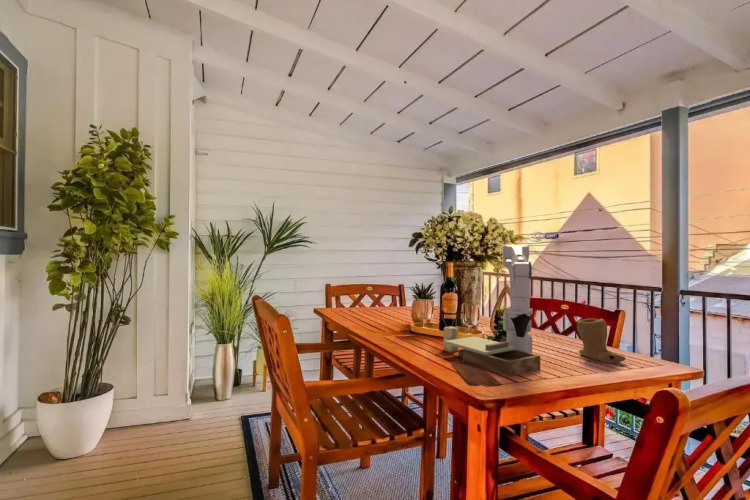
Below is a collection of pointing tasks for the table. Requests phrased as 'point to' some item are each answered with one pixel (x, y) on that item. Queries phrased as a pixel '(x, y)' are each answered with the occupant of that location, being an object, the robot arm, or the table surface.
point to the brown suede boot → (596, 341)
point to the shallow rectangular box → (503, 361)
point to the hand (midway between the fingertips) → (520, 336)
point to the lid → (481, 345)
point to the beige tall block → (450, 338)
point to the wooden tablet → (474, 374)
